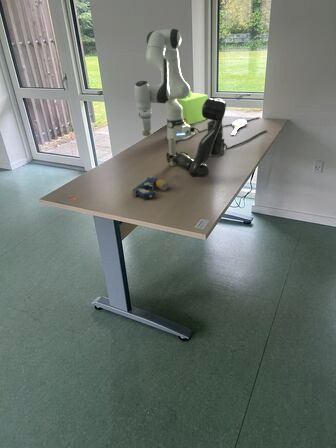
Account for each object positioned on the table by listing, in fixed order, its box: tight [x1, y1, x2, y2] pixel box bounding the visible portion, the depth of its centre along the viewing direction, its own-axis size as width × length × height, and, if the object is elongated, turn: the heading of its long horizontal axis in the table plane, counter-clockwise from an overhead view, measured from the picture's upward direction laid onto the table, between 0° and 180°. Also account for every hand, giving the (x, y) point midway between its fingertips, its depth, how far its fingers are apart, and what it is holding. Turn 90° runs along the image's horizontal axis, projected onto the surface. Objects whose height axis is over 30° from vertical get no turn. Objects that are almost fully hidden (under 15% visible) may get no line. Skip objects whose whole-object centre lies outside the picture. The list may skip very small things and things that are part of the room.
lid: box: [142, 130, 151, 137], centre depth 202 cm, size 5×5×2 cm
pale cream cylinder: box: [167, 137, 177, 167], centre depth 198 cm, size 4×4×17 cm
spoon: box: [231, 119, 248, 136], centre depth 255 cm, size 35×11×2 cm, turn 159°
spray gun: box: [131, 175, 169, 200], centre depth 172 cm, size 21×4×15 cm
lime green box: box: [176, 90, 209, 126], centre depth 283 cm, size 25×21×23 cm
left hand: (146, 134), depth 203 cm, fingers closed on lid, 4 cm apart
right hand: (170, 153), depth 202 cm, fingers closed on pale cream cylinder, 4 cm apart
